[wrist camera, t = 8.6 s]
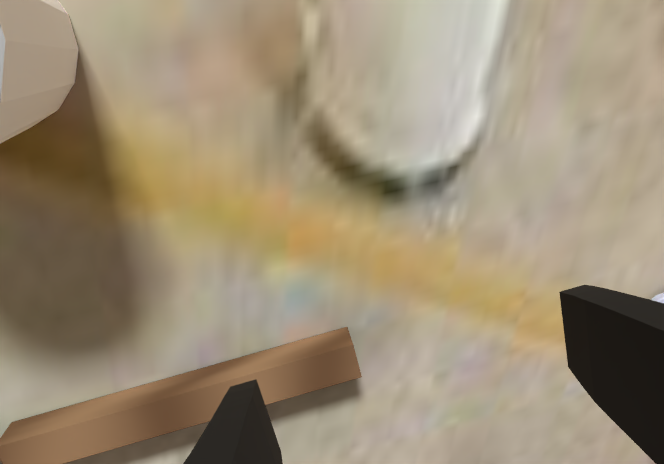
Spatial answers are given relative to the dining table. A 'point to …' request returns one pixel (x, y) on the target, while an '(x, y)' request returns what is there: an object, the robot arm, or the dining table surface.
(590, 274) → the dining table surface
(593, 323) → the robot arm
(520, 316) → the dining table surface
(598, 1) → the dining table surface
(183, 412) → the channel
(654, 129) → the dining table surface
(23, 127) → the white cup
